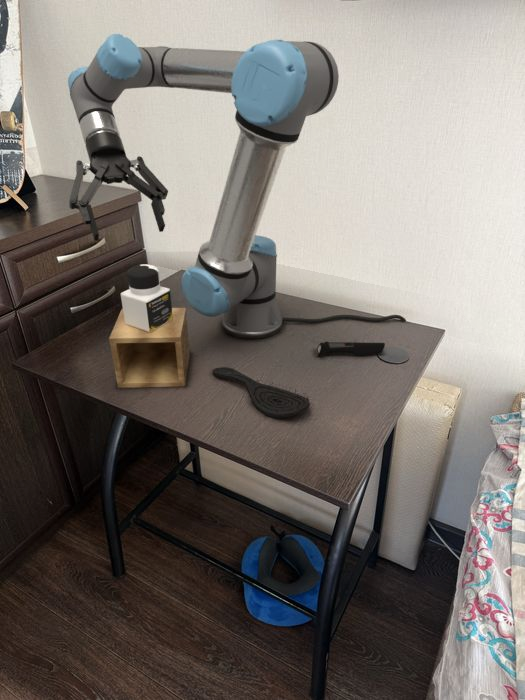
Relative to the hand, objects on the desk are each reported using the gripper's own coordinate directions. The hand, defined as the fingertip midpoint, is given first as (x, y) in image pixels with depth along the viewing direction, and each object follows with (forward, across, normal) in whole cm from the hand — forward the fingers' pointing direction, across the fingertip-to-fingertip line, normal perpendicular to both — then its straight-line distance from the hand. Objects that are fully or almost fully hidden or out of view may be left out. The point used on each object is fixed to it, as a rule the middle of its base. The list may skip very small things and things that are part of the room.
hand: (130, 233), depth 102 cm
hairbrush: (+39, -16, +1) cm, 42 cm away
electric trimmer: (+36, -42, -2) cm, 55 cm away
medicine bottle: (+18, 0, -5) cm, 19 cm away
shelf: (+27, 0, -13) cm, 30 cm away
